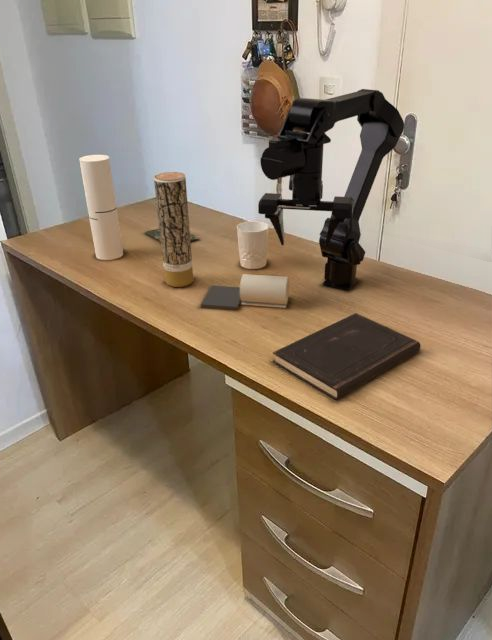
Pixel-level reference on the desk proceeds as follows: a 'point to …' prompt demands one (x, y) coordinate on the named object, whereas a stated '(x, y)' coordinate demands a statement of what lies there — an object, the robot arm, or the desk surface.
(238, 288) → the slate coaster
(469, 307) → the desk surface
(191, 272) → the brown bark cylinder
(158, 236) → the eiffel tower figurine
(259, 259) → the white cup
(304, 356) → the hardcover book
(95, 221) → the cylindrical container
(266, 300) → the cylinder
